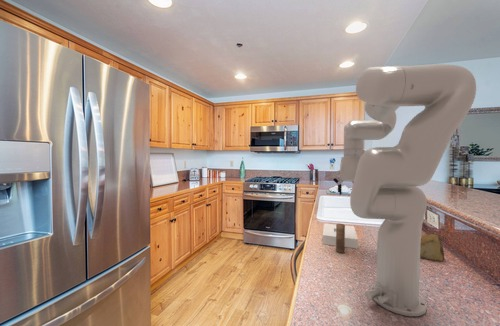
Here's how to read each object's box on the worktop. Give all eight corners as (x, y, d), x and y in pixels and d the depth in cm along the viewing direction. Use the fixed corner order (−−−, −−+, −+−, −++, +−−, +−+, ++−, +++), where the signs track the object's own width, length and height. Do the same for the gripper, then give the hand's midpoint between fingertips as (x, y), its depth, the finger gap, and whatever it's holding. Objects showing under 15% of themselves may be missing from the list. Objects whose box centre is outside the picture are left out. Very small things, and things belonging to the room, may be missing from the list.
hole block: (357, 248, 91) (357, 239, 91) (322, 244, 96) (322, 235, 96) (353, 234, 108) (353, 226, 108) (324, 230, 113) (324, 223, 113)
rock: (404, 251, 84) (438, 257, 76) (406, 230, 88) (438, 233, 80) (414, 261, 89) (446, 268, 81) (415, 241, 92) (446, 245, 85)
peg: (340, 254, 86) (340, 226, 86) (334, 250, 89) (334, 224, 89) (346, 252, 88) (346, 225, 87) (340, 249, 91) (340, 223, 90)
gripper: (375, 153, 90) (375, 194, 91) (331, 153, 97) (331, 192, 97) (379, 153, 83) (378, 197, 84) (331, 153, 90) (330, 195, 90)
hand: (352, 194), depth 91 cm, fingers open, 9 cm apart
